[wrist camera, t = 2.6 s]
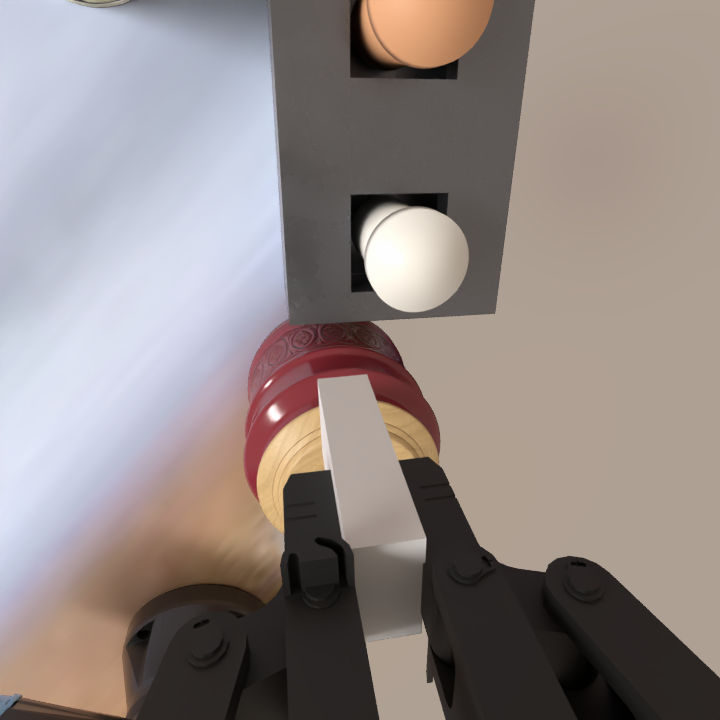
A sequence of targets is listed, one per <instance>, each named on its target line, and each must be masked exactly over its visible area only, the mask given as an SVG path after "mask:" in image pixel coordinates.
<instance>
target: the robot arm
mask: <svg viewBox="0 0 720 720" xmlns="http://www.w3.org/2000/svg"><path fill="white" fill-rule="evenodd" d="M317 381H318V396H319V410H320V425H321V440H322V454H323V460H324V467H325V470H322V471H314V472H305V473H297V474H291V475H290V477H289V478H288V480H287V482H286V484H285V486H284V488H283V507H284V509H283V510H284V541H285V551H284V553H283V555H282V560H281V564H280V567H281V575H282V582H283V585H282V587H281V589H280V590H279V592H278V593H277V595H276V596H275V597H274V598H273V599H272V600H271V601H270V602H269V603H267V604H266V605H264V604H263V603H262V602H261V601H260V600H258V599H257V598H255V597H254V596H252V595H250V594H249V593H246V592H244V591H242V590H239V589H236V588H232V587H227V586H221V585H195V586H188V587H183V588H179V589H175V590H172V591H170V592H167V593H164V594H162V595H160V596H158V597H156V598H155V599H153V600H151V601H150V602H149V603H147V604H146V605H145V606H143V607H142V608H141V609H140V610H139V611H138V612H137V614H136V615H135V616H134V618H133V619H132V621H131V623H130V625H129V628H128V632H127V635H126V639H125V643H124V647H123V655H122V661H123V671H124V682H125V692H126V702H127V716H126V718H122V717H119V716H113V715H108V714H102V713H97V712H92V711H86V710H81V709H75V708H70V707H65V706H60V705H55V704H50V703H45V702H40V701H36V700H31V699H26V698H22V695H19V694H14V695H12V696H7V695H0V720H379V715H378V710H377V705H376V699H375V694H374V688H373V682H372V677H371V671H370V666H369V660H368V655H367V649H366V643H365V642H371V641H377V640H383V639H389V638H395V637H401V636H407V635H413V634H419V633H421V632H422V618H423V622H424V625H425V629H426V632H427V635H428V654H427V670H426V673H427V683H431V682H432V681H433V677H434V680H435V684H436V687H437V691H438V694H439V698H440V701H441V704H442V708H443V712H444V715H445V719H446V720H720V678H719V677H718V676H717V675H716V674H715V673H714V672H713V671H712V670H711V669H710V668H709V667H708V666H706V664H704V663H703V661H701V660H700V659H699V658H698V657H697V656H696V655H695V654H694V653H693V652H692V651H691V650H690V649H689V648H688V647H687V646H686V645H685V644H683V642H682V641H680V640H679V639H678V638H677V637H676V636H675V635H674V634H673V633H672V632H671V631H670V630H669V629H668V628H667V627H666V626H665V625H664V624H663V623H662V622H660V620H658V619H657V618H656V617H655V616H654V615H653V614H652V613H651V612H650V611H649V610H648V609H647V608H646V607H645V606H644V605H643V604H642V603H641V602H640V601H639V600H637V599H636V598H635V597H634V596H633V595H632V594H631V593H630V592H629V591H628V590H627V589H626V588H625V587H624V586H623V585H622V584H621V583H619V581H618V580H617V579H616V578H614V577H613V576H612V575H611V574H610V573H609V572H608V571H606V570H605V569H604V568H602V567H601V566H600V565H598V564H597V563H594V562H592V561H589V560H587V559H585V558H580V557H573V556H567V557H562V558H557V559H556V560H554V561H553V562H551V563H550V564H549V565H548V568H547V570H546V572H538V571H531V570H524V569H517V568H513V567H509V566H506V565H504V564H501V563H499V562H498V561H497V560H496V559H495V557H494V556H493V555H492V554H491V553H489V552H488V551H486V550H485V549H484V548H482V547H480V545H479V544H478V542H477V540H476V538H475V536H474V534H473V532H472V530H471V528H470V525H469V523H468V521H467V519H466V517H465V515H464V513H463V511H462V509H461V507H460V504H459V502H458V500H457V498H455V494H454V492H453V490H452V488H451V486H450V485H449V481H448V479H447V477H446V475H445V473H444V471H443V469H442V468H441V467H440V466H439V465H438V464H437V463H435V462H434V461H433V460H432V459H431V458H429V457H421V458H413V459H404V460H398V459H397V456H396V453H395V450H394V448H393V445H392V442H391V439H390V436H389V434H388V431H387V428H386V425H385V423H384V420H383V417H382V414H381V412H380V409H379V406H378V403H377V401H376V398H375V395H374V392H373V390H372V387H371V384H370V381H369V379H368V376H367V374H365V375H354V376H343V377H333V378H322V379H317Z"/></svg>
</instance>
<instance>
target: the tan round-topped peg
mask: <svg viewBox="0 0 720 720" xmlns="http://www.w3.org/2000/svg"><path fill="white" fill-rule="evenodd" d="M493 3H494V0H356V2H355V4H354V6H353V9H352V13H351V19H350V32H351V38H352V41H353V44H354V47H355V49H356V51H357V53H358V54H359V55H360V57H361V58H362V59H363V60H364V61H365V62H366V63H367V64H368V65H370V66H372V67H373V68H376V69H378V70H382V71H393V70H397V69H400V68H402V67H405V66H409V67H413V68H420V69H428V68H434V67H438V66H442V65H445V64H448V63H450V62H453V61H455V60H457V59H458V58H460V57H461V56H463V55H464V54H466V53H467V52H468V51H469V50H470V49H471V48H472V47H473V46H474V45H475V43H476V42H477V41H478V40H479V38H480V36H481V35H482V33H483V32H484V30H485V28H486V26H487V24H488V21H489V18H490V15H491V12H492V8H493Z"/></svg>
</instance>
